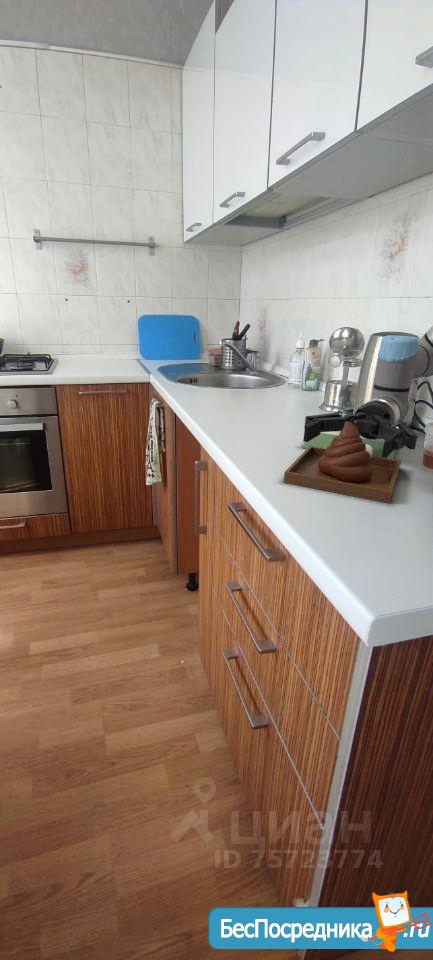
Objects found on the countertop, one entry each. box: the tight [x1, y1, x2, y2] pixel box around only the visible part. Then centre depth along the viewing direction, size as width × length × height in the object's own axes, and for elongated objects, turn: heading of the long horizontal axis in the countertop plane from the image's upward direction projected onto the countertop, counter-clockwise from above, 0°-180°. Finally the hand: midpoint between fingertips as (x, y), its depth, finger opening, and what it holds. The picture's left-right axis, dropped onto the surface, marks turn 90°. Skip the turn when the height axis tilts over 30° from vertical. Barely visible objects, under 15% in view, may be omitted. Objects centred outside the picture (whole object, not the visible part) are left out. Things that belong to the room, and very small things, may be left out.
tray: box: [283, 446, 402, 504], centre depth 83 cm, size 17×17×2 cm
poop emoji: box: [318, 421, 373, 482], centre depth 81 cm, size 10×8×9 cm
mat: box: [301, 432, 397, 459], centre depth 100 cm, size 18×13×1 cm
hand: (343, 441), depth 78 cm, fingers open, 13 cm apart
